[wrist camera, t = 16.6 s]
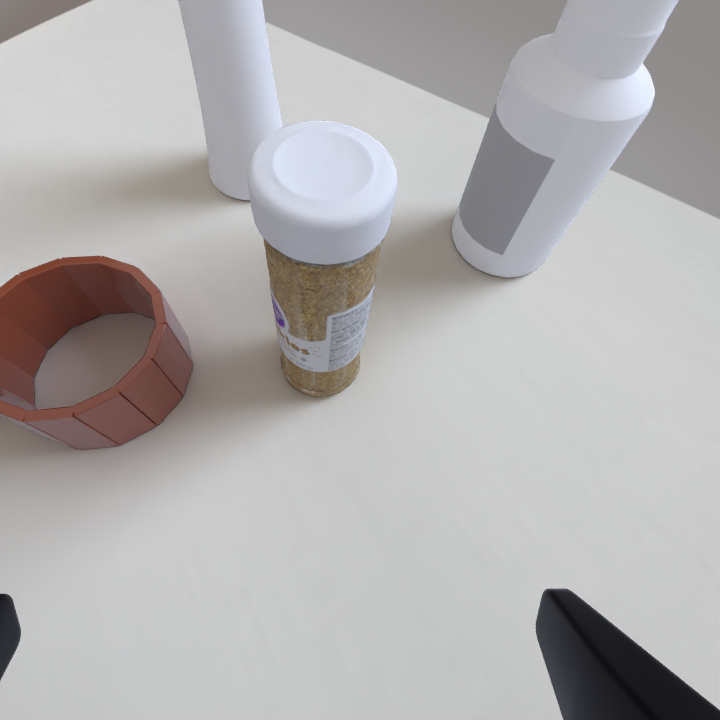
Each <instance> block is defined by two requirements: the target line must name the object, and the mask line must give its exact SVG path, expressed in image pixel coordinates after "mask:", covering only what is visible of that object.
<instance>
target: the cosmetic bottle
mask: <svg viewBox="0 0 720 720" xmlns="http://www.w3.org/2000/svg"><path fill="white" fill-rule="evenodd" d="M178 2H179V6H180V11H181V15H182V20H183V24H184V29H185V33H186V38H187V42H188V47H189V52H190V56H191V61H192V66H193V70H194V75H195V80H196V85H197V90H198V95H199V100H200V106H201V111H202V117H203V123H204V129H205V136H206V144H207V152H208V163H209V175H210V179H211V181H212V183H213V184H214V186H215V187H216V188H217V189H218V190H220V191H221V192H222V193H224V194H226V195H228V196H230V197H233V198H236V199H241V200H250V195H249V188H248V180H247V168H248V163H249V160H250V157H251V155H252V153H253V151H254V149H255V148H256V146H257V145H258V144H259V143H260V142H261V141H262V140H263V139H264V138H265V137H266V136H268V135H269V134H271V133H272V132H274V131H276V130H277V129H279V128H282V127H283V124H282V119H281V114H280V109H279V104H278V99H277V93H276V88H275V82H274V76H273V70H272V64H271V57H270V51H269V44H268V38H267V32H266V25H265V19H264V11H263V5H262V0H178Z"/></svg>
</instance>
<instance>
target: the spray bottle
mask: <svg viewBox="0 0 720 720" xmlns="http://www.w3.org/2000/svg"><path fill="white" fill-rule="evenodd" d="M678 1H679V0H568V1H567V4H566V6H565V9H564V11H563V13H562V15H561V18H560V20H559V23H558V25H557V27H556V30H555V32H554V33H552V34H548V35H544V36H540V37H536V38H535V39H533V40H531V41H530V42H528V43H527V44H525V45H523V46H522V47H520V48H519V50H518V51H517V53H516V54H515V56H514V58H513V60H512V61H511V63H510V64H509V67H508V70H507V73H506V76H505V78H504V82H503V84H502V87H501V90H500V92H499V95H498V98H497V101H496V104H495V106H494V110H493V112H492V115H491V118H490V120H489V123H488V126H487V129H486V132H485V134H484V137H483V140H482V143H481V146H480V148H479V151H478V154H477V157H476V160H475V162H474V165H473V168H472V171H471V174H470V176H469V179H468V182H467V185H466V188H465V190H464V193H463V196H462V199H461V202H460V204H459V207H458V210H457V213H456V216H455V218H454V221H453V228H452V236H453V240H454V243H455V246H456V249H457V250H458V251H459V253H460V254H461V255H462V257H463V258H464V259H465V260H466V261H467V262H468V263H470V264H471V265H472V266H474V267H475V268H476V269H478V270H481V271H483V272H486V273H488V274H490V275H495V276H501V277H518V276H523V275H525V274H528V273H530V272H532V271H535V270H537V269H538V268H539V267H540V266H541V265H542V264H543V263H544V262H545V261H546V259H547V258H548V256H549V255H550V253H551V252H552V251H553V249H554V248H555V246H556V245H557V243H558V242H559V240H560V239H561V238H562V236H563V235H564V233H565V232H566V230H567V229H568V228H569V226H570V225H571V223H572V222H573V220H574V219H575V218H576V216H577V215H578V213H579V212H580V210H581V209H582V207H583V206H584V205H585V203H586V202H587V200H588V199H589V197H590V196H591V195H592V193H593V192H594V190H595V189H596V187H597V186H598V184H599V183H600V182H601V180H602V179H603V177H604V176H605V174H606V173H607V172H608V170H609V169H610V167H611V166H612V164H613V163H614V161H615V160H616V159H617V157H618V156H619V154H620V153H621V151H622V150H623V148H624V147H625V146H626V144H627V143H628V141H629V140H630V138H631V137H632V136H633V134H634V133H635V131H636V130H637V128H638V127H639V126H640V124H641V123H642V121H643V120H644V118H645V117H646V116H647V114H648V113H649V111H650V108H651V106H652V102H653V98H654V95H655V91H654V86H653V82H652V79H651V75H650V74H649V72H648V71H647V69H646V68H645V66H644V65H643V62H644V60H645V58H646V57H647V55H648V54H649V52H650V50H651V49H652V47H653V46H654V44H655V42H656V41H657V39H658V37H659V36H660V34H661V32H662V31H663V29H664V26H665V24H666V20H667V19H668V17H669V15H670V14H671V12H672V10H673V9H674V7H675V6H676V4H677V2H678Z"/></svg>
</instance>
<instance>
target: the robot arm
mask: <svg viewBox="0 0 720 720" xmlns="http://www.w3.org/2000/svg"><path fill="white" fill-rule="evenodd" d="M536 634H537V639H538V642H539V645H540V648H541V651H542V654H543V658H544V661H545V664H546V667H547V670H548V673H549V676H550V679H551V683H552V686H553V689H554V692H555V695H556V698H557V701H558V704H559V708H560V711H561V714H562V717H563V720H720V710H719V709H717V708H716V707H715V706H714V705H712V704H711V703H710V702H709V701H707V700H706V699H705V698H704V697H703V696H701V695H700V694H699V693H698V692H696V691H695V690H694V689H693V688H691V687H690V686H689V685H688V684H686V683H685V682H684V681H683V680H681V679H680V678H679V677H678V676H676V675H675V674H674V673H673V672H671V671H670V670H669V669H668V668H667V667H665V666H664V665H663V664H662V663H660V662H659V661H658V660H657V659H655V658H654V657H653V656H652V655H650V654H649V653H648V652H647V651H645V650H644V649H643V648H642V647H640V646H639V645H638V644H637V643H635V642H634V641H633V640H632V639H630V638H629V637H628V636H627V635H626V634H624V633H623V632H622V631H621V630H619V629H618V628H617V627H616V626H614V625H613V624H612V623H611V622H609V621H608V620H607V619H606V618H604V617H603V616H602V615H601V614H599V613H598V612H597V611H596V610H594V609H593V608H592V607H591V606H590V605H588V604H587V603H586V602H585V601H583V600H582V599H581V598H580V597H578V596H577V595H576V594H575V593H573V592H572V591H570V590H568V589H546V590H545V591H544V592H543V594H542V598H541V602H540V607H539V611H538V616H537V620H536ZM20 637H21V629H20V625H19V621H18V617H17V614H16V610H15V606H14V603H13V600H12V598H11V597H10V596H9V595H7V594H0V680H1V678H2V676H3V674H4V672H5V670H6V668H7V666H8V664H9V662H10V661H11V659H12V657H13V655H14V653H15V651H16V649H17V647H18V644H19V641H20Z"/></svg>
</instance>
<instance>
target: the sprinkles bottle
mask: <svg viewBox="0 0 720 720" xmlns="http://www.w3.org/2000/svg"><path fill="white" fill-rule="evenodd" d="M247 180H248V188H249V195H250V201H251V207H252V212H253V217H254V221H255V224H256V226H257V228H258V230H259V232H260V234H261V235H262V236H263V237H264V245H265V249H266V258H267V263H268V269H269V276H270V290H271V296H272V302H273V308H274V314H275V321H276V328H277V335H278V341H279V344H280V348H281V368H282V371H283V373H284V376H285V378H286V379H287V380H288V381H289V383H290V384H291V385H292V386H293V387H294V388H296V389H298V390H299V391H301V392H303V393H305V394H307V395H313V396H328V395H333V394H336V393H339V392H341V391H343V390H344V389H345V388H346V387H348V386H349V385H350V384H351V383H352V382H353V380H354V379H355V377H356V375H357V373H358V371H359V363H360V356H359V354H360V350H361V347H362V345H363V341H364V337H365V331H366V326H367V321H368V316H369V311H370V306H371V301H372V296H373V291H374V286H375V281H376V267H377V261H378V257H379V251H380V246H381V243H382V241H383V239H384V237H385V235H386V233H387V231H388V229H389V226H390V222H391V217H392V212H393V207H394V201H395V195H396V189H397V172H396V168H395V165H394V163H393V160H392V158H391V156H390V155H389V153H388V152H387V151H386V149H385V148H384V147H383V146H382V145H381V144H380V143H379V142H378V141H377V140H376V139H374V138H373V137H372V136H370V135H369V134H367V133H365V132H363V131H361V130H359V129H357V128H354V127H352V126H349V125H346V124H342V123H337V122H331V121H320V120H316V121H304V122H298V123H294V124H290V125H287V126H284V127H282V128H279V129H277V130H276V131H274V132H272V133H271V134H269V135H268V136H266V137H265V138H264V139H263V140H262V141H261V142H260V143H259V144H258V145H257V146H256V148H255V149H254V151H253V153H252V155H251V157H250V160H249V163H248V168H247Z"/></svg>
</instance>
